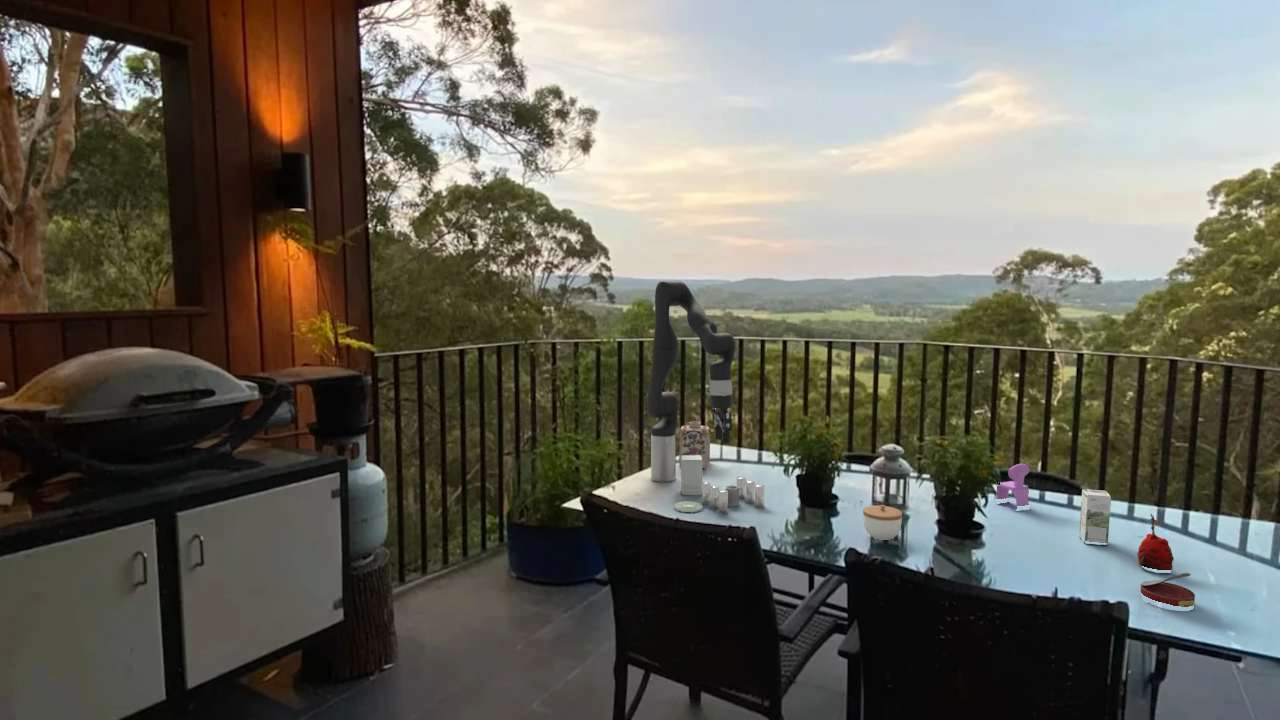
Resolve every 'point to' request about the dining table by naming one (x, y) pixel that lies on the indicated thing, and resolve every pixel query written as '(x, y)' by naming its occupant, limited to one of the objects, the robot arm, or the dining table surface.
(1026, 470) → the toy chair
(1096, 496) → the syrup box
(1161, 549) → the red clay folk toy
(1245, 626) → the dining table surface
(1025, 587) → the dining table surface
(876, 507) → the lidded jar
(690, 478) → the supplement box
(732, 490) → the grey upright block
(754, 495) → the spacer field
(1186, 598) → the canned food
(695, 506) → the saucer
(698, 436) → the decorative jar
